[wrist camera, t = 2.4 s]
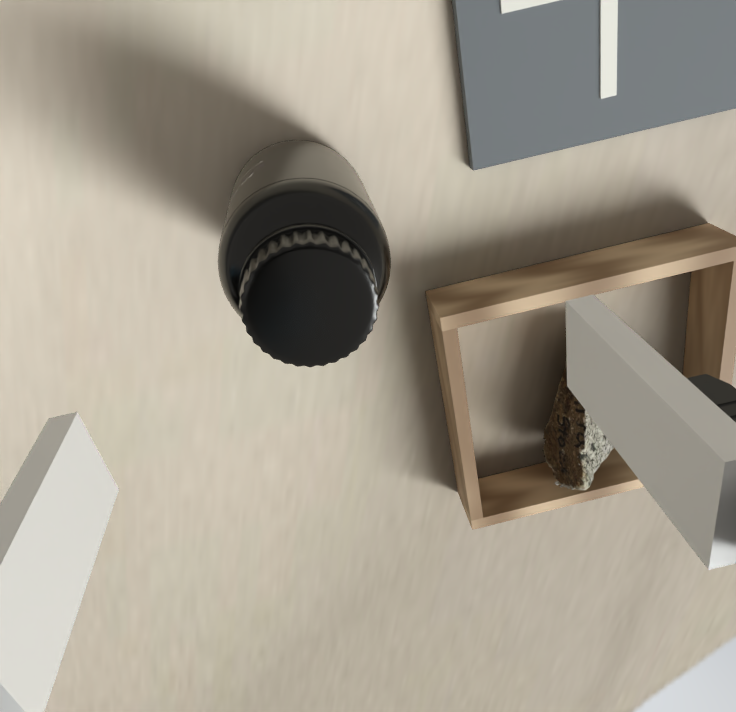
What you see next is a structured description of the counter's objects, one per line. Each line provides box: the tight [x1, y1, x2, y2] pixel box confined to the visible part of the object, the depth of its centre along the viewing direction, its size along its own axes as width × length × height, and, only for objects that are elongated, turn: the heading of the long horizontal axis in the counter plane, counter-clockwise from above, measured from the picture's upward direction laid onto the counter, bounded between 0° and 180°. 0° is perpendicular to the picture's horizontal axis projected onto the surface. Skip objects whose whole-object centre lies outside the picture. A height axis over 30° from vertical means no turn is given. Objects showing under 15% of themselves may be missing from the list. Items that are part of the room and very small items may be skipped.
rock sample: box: [543, 334, 641, 491], centre depth 37 cm, size 10×8×9 cm
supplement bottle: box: [218, 140, 391, 367], centre depth 26 cm, size 7×7×12 cm
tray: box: [425, 223, 736, 530], centre depth 37 cm, size 17×16×4 cm
